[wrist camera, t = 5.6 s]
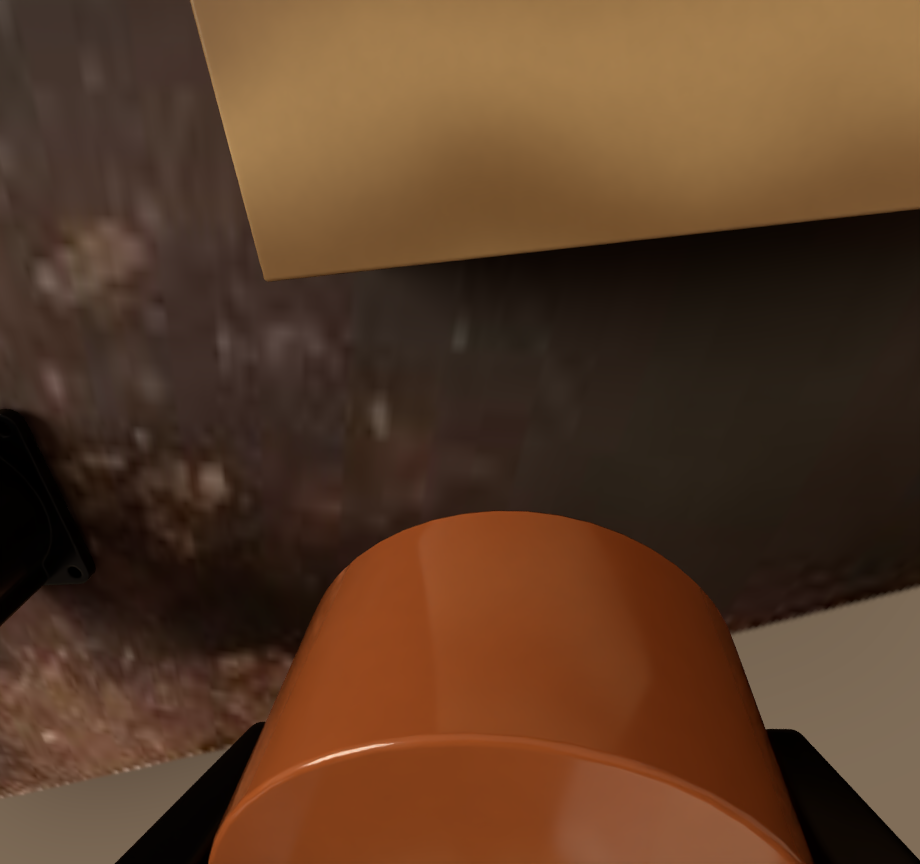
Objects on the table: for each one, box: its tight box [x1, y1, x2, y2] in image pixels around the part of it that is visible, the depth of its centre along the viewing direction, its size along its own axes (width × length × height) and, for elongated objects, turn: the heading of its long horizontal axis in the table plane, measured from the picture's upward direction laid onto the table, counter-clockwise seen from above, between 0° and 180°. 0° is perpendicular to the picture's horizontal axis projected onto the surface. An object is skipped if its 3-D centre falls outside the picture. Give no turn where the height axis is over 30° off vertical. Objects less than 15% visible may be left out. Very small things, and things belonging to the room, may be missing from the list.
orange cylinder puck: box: [208, 510, 814, 864], centre depth 8 cm, size 6×6×3 cm
